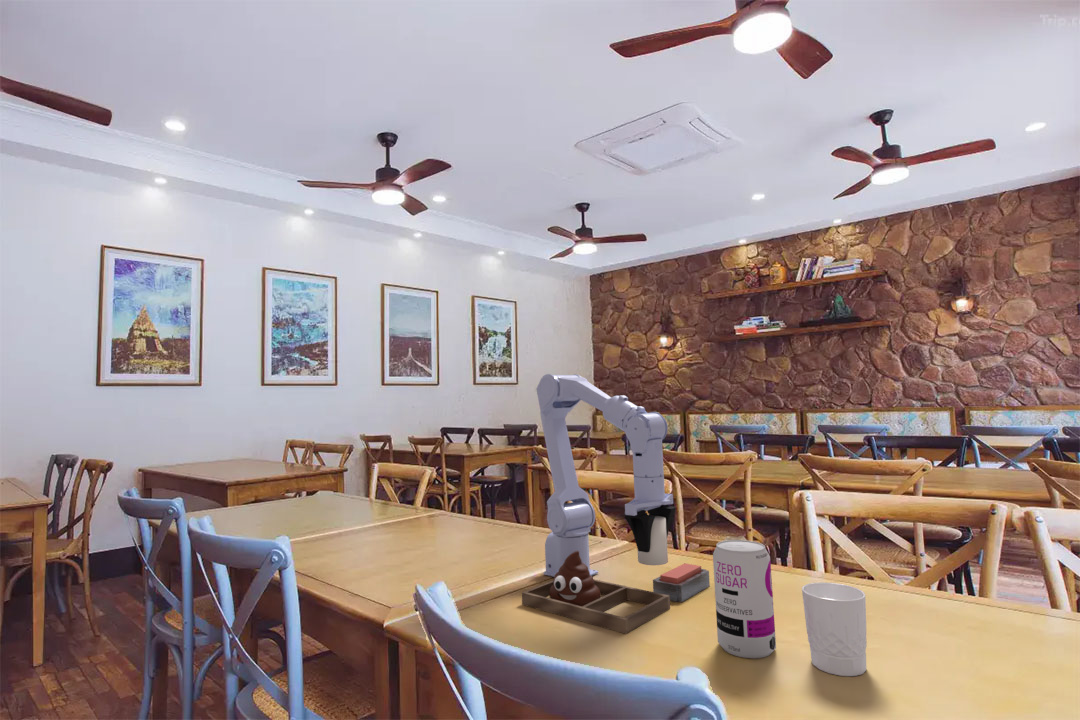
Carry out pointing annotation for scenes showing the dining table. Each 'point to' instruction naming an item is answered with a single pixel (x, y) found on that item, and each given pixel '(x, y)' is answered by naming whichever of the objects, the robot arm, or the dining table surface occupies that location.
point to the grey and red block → (683, 586)
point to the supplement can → (744, 598)
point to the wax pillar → (656, 544)
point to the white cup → (836, 627)
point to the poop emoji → (574, 583)
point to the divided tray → (602, 605)
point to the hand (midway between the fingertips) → (652, 547)
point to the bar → (680, 573)
